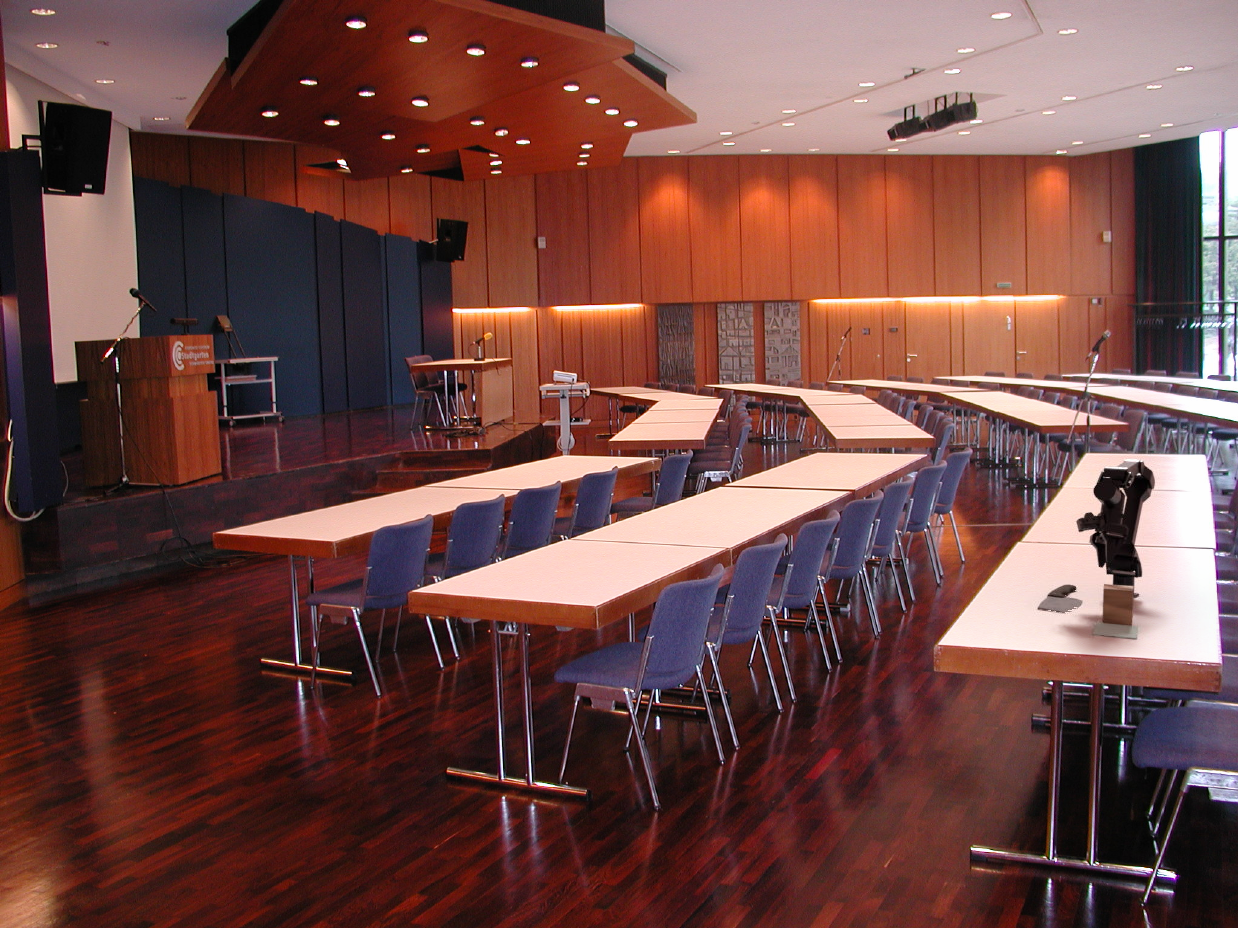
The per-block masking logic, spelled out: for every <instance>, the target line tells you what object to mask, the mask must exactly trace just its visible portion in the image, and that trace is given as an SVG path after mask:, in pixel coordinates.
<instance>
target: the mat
mask: <svg viewBox="0 0 1238 928" xmlns="http://www.w3.org/2000/svg"><path fill="white" fill-rule="evenodd" d="M1138 631H1139V626H1138V625H1137V626H1136V625H1132V626H1129V625H1118V624H1108V623H1103V622H1097V621H1095V624H1094V629H1093V632H1092V636H1098V635H1104V636H1103V637H1108V636H1115V637H1114V638H1118V639H1119V638H1121V639H1128V638H1129V639H1130V640H1138V639H1137V638H1138Z"/></svg>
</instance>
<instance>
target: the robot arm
mask: <svg viewBox="0 0 1238 928" xmlns="http://www.w3.org/2000/svg"><path fill="white" fill-rule="evenodd" d="M1155 480H1156V479H1155V475H1154V472H1153V471H1152V469H1150V468H1149V467H1147V466H1146V465H1145V462H1144V460H1142V459H1132V458H1131V459H1129V458H1127V459H1123V462H1122V463H1120V464H1118V465H1117V466H1105V467H1104V468H1103V469H1102V470H1101V472H1100V475H1099V477H1098V479H1097V481H1096V483H1095V486H1094V487H1093V495H1094V497H1095V498H1096V499H1097V501H1098V502H1100V503H1101V506H1100V511H1099V513H1097V515H1095V514H1093V512H1092V511H1090V512H1085V513H1084V515H1083V517H1080V518H1078V519H1076V521H1075V522H1076V526H1077V529H1078V533H1082V532H1084V531H1091V530H1094V533H1093V534H1091V535H1090V536H1089V541H1088V542H1089V544H1090V545H1091V546H1092V547H1093V548H1094V549H1095V550H1096V552H1095V553H1096V557H1097V559H1096V560H1097V565H1098V568H1101V569H1103V568H1104V567H1105V570H1106V575H1108V576H1109V575H1111V576H1112V585H1123V586H1133V598H1135V597H1138V596H1140V593H1138V592H1135V583H1136V582H1135V579H1137V578H1142V577H1143V567H1142V562H1141V559H1140V557H1139V553H1138V551H1137V549H1136V547H1135V544H1136V539H1137V534H1138V530H1139V525H1140V519H1141V515H1142V510H1143V505H1144V503H1145V502H1146V501H1147V500H1148V499H1150V497H1151V496H1152V495H1151V494H1152V491H1153V490H1154V489H1155V485H1156V481H1155ZM1122 489H1123V490H1122Z"/></svg>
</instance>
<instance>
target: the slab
mask: <svg viewBox="0 0 1238 928" xmlns="http://www.w3.org/2000/svg"><path fill="white" fill-rule="evenodd" d="M1102 595H1103V596H1102V597H1103V598H1102V599H1103V600H1102V623H1108V624H1118V625H1129V626H1133V616H1134V615H1133V614H1134V612H1133V610H1134V597H1133V586H1123V585H1113V584H1106V583H1103V593H1102Z"/></svg>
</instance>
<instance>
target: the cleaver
mask: <svg viewBox="0 0 1238 928" xmlns="http://www.w3.org/2000/svg"><path fill="white" fill-rule="evenodd" d="M1075 590H1076V591H1077V586H1076V585H1074V584H1063V585H1061V586H1058V587H1056V588H1055V589H1052V590H1051V591H1050V592H1048V594H1046V595H1047V596H1046V598H1045V599H1043V600H1042V601H1041V602H1040V603H1039V605H1038V606H1037V610H1039V609H1042V610H1041V611H1046V610H1051V611H1050V612H1053V611H1056V612H1055V613H1059V612H1062V613H1061V614H1066V613H1065V612H1069V613H1071V612H1072V611H1068V610H1072V609H1076V608H1074V607H1079V606H1080V607H1081V605H1082V604H1083V600H1082V599H1078V598H1074V597H1071V596H1070V597H1068V595H1069V594H1071V593H1073V591H1074V592H1076V591H1075ZM1065 595H1067V596H1065ZM1080 604H1081V605H1080ZM1076 610H1077V609H1076Z"/></svg>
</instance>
